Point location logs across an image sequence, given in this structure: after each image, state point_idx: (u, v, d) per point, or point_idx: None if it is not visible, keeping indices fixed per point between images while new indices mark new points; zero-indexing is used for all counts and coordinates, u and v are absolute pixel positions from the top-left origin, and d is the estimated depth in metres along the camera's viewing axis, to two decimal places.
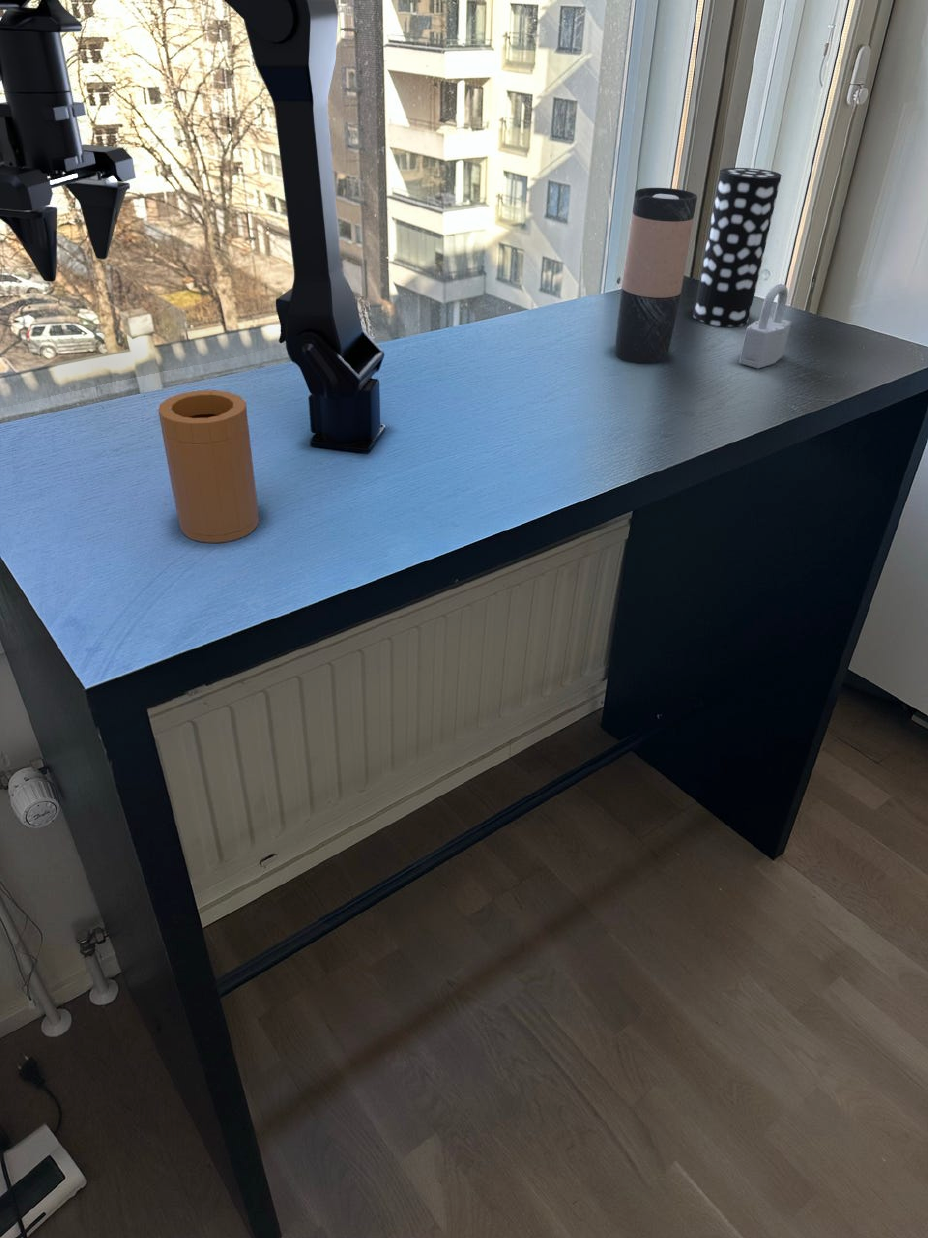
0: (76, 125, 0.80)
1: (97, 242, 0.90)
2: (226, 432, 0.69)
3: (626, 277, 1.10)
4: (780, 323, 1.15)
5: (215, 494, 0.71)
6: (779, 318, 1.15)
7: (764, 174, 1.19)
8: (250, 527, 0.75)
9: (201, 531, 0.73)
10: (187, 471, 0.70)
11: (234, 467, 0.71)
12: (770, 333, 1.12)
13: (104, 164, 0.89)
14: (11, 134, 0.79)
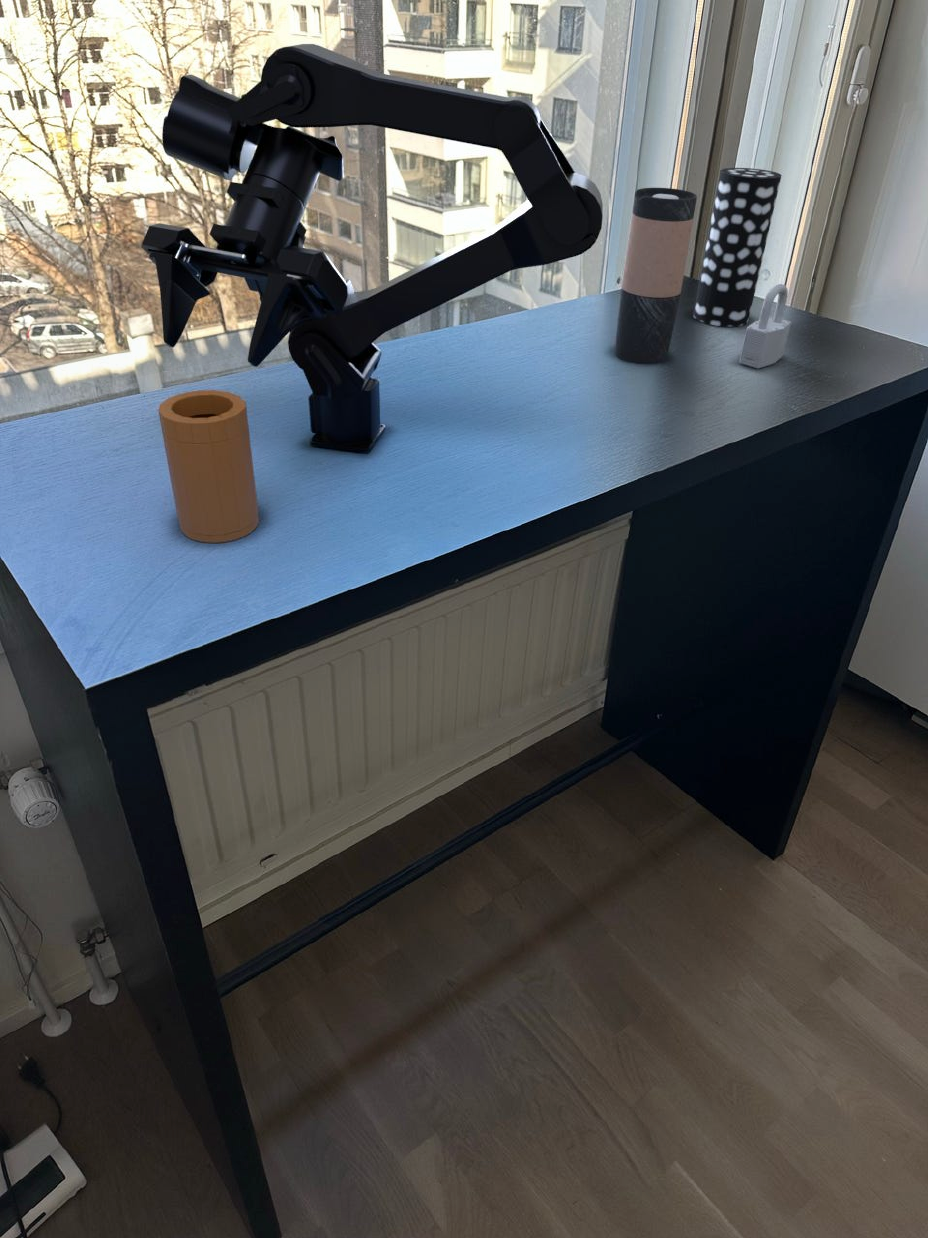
0: (253, 204, 0.74)
1: None
2: (226, 432, 0.69)
3: (626, 277, 1.10)
4: (780, 323, 1.15)
5: (215, 494, 0.71)
6: (779, 318, 1.15)
7: (764, 174, 1.19)
8: (250, 527, 0.75)
9: (201, 531, 0.73)
10: (187, 471, 0.70)
11: (234, 467, 0.71)
12: (770, 333, 1.12)
13: None
14: None
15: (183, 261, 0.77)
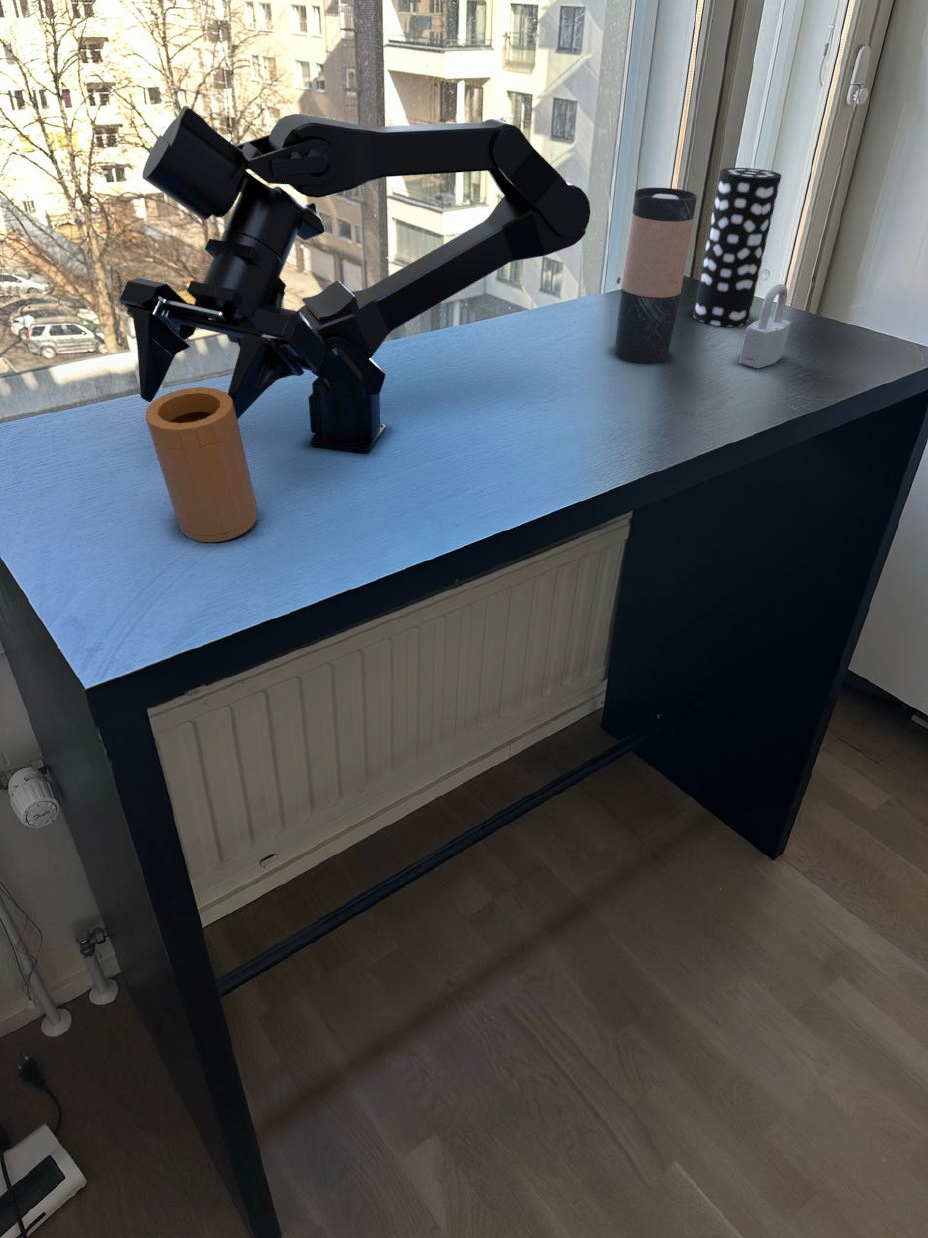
0: (230, 262, 0.74)
1: None
2: (214, 435, 0.68)
3: (626, 277, 1.10)
4: (780, 323, 1.15)
5: (210, 496, 0.71)
6: (779, 318, 1.15)
7: (764, 174, 1.19)
8: (249, 523, 0.75)
9: (200, 532, 0.73)
10: (179, 475, 0.70)
11: (226, 467, 0.70)
12: (770, 333, 1.12)
13: None
14: None
15: (161, 316, 0.77)
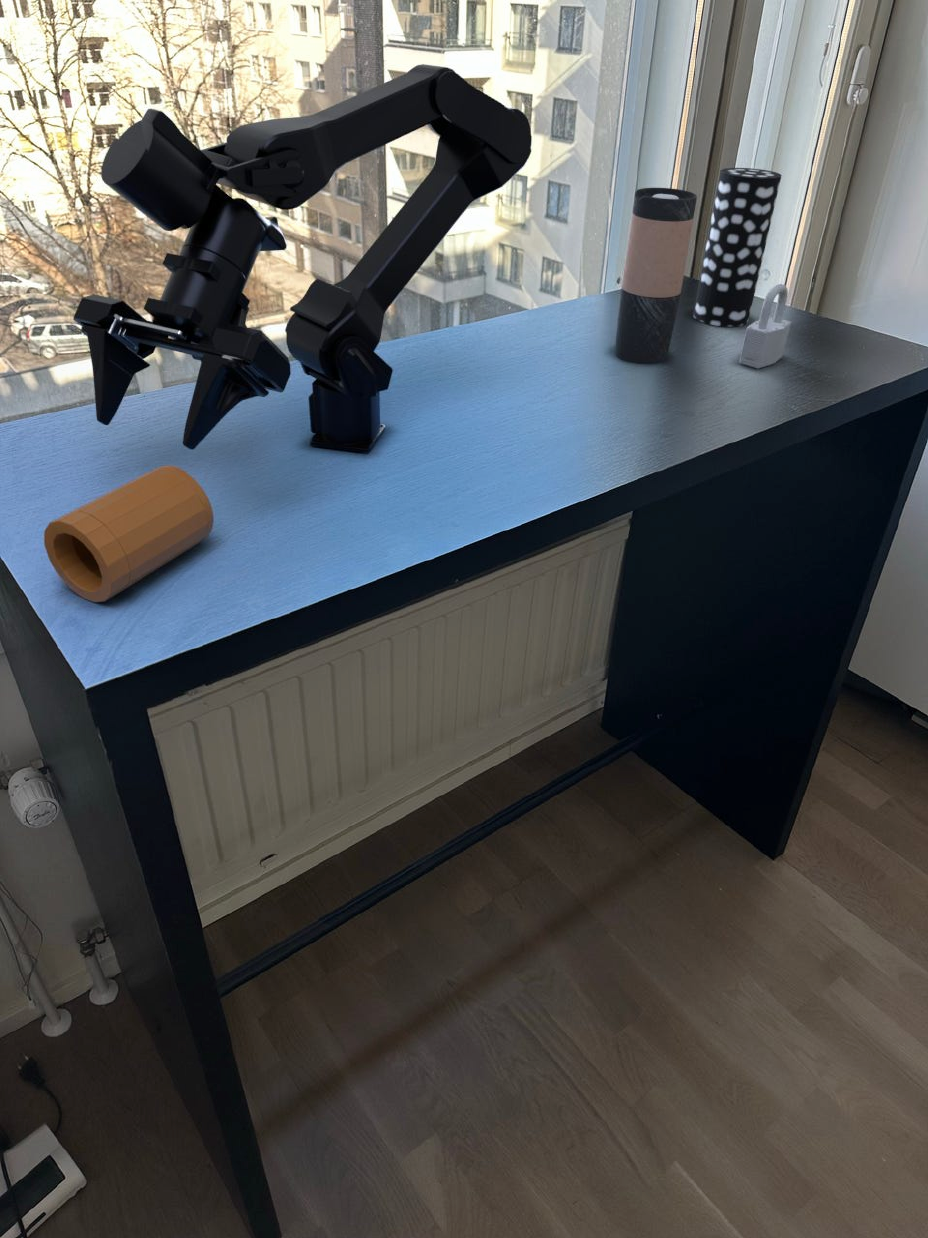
0: (189, 278, 0.70)
1: None
2: (123, 574, 0.64)
3: (626, 277, 1.10)
4: (780, 323, 1.15)
5: (171, 557, 0.69)
6: (779, 318, 1.15)
7: (764, 174, 1.19)
8: (206, 508, 0.70)
9: None
10: None
11: (154, 553, 0.67)
12: (770, 333, 1.12)
13: None
14: None
15: (118, 335, 0.73)
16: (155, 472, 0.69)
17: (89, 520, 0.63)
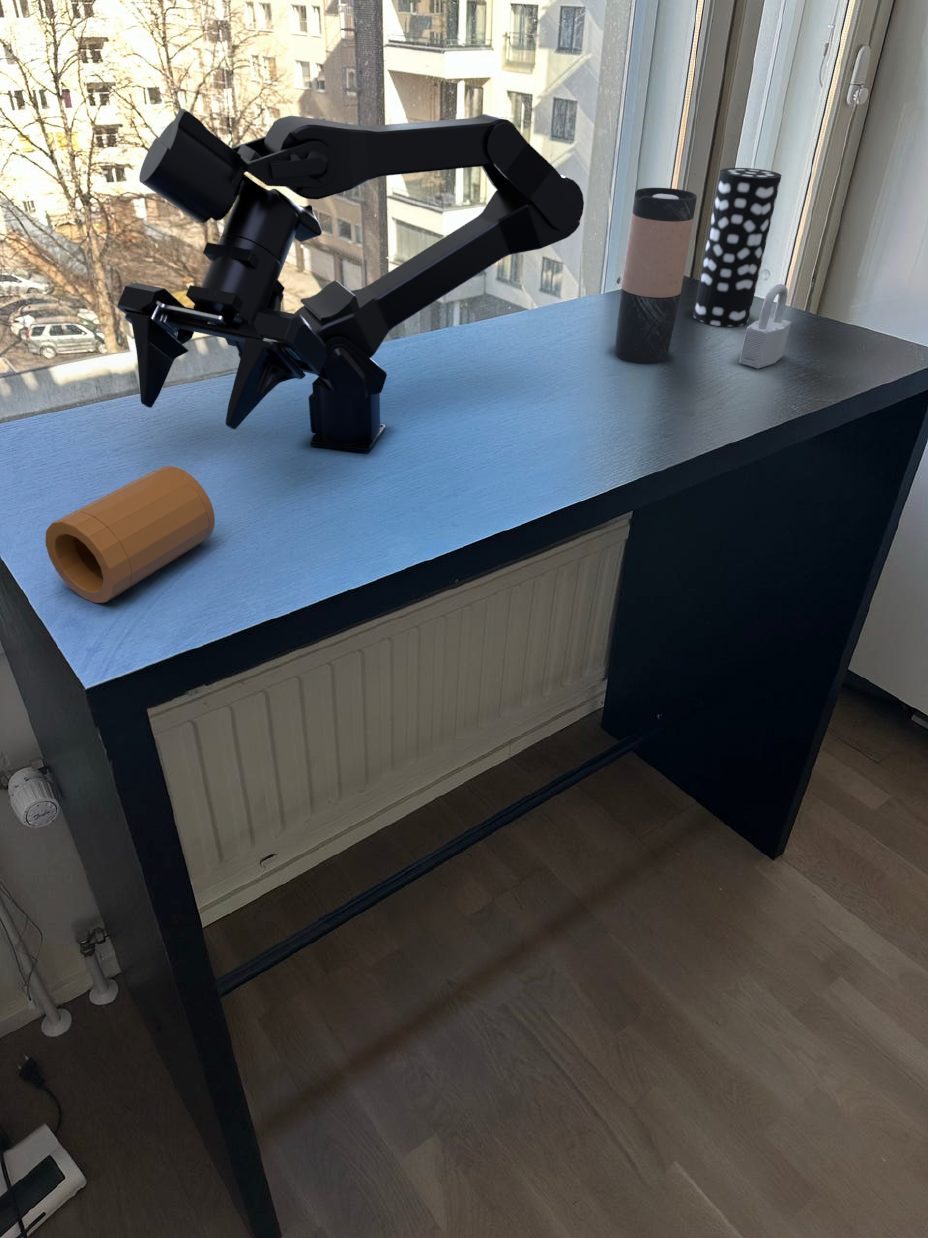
0: (229, 265, 0.73)
1: None
2: (124, 577, 0.65)
3: (626, 277, 1.10)
4: (780, 323, 1.15)
5: (171, 559, 0.69)
6: (779, 318, 1.15)
7: (764, 174, 1.19)
8: (208, 510, 0.70)
9: None
10: None
11: (155, 555, 0.67)
12: (770, 333, 1.12)
13: None
14: None
15: (160, 321, 0.76)
16: (158, 473, 0.69)
17: (92, 522, 0.63)
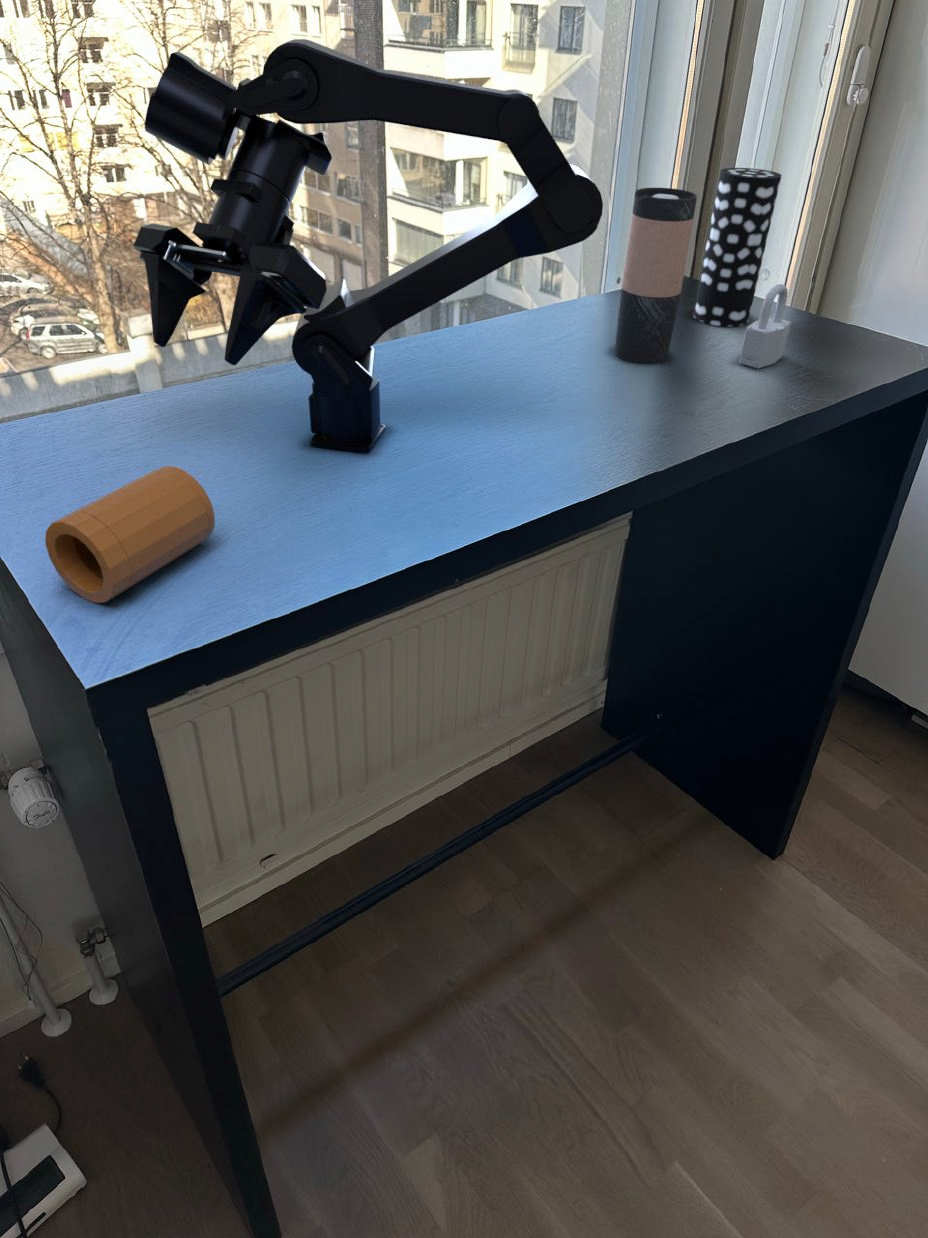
0: (232, 200, 0.73)
1: None
2: (124, 577, 0.65)
3: (626, 277, 1.10)
4: (780, 323, 1.15)
5: (171, 559, 0.69)
6: (779, 318, 1.15)
7: (764, 174, 1.19)
8: (208, 510, 0.70)
9: None
10: None
11: (155, 555, 0.67)
12: (770, 333, 1.12)
13: None
14: None
15: (173, 260, 0.78)
16: (158, 473, 0.69)
17: (92, 522, 0.63)
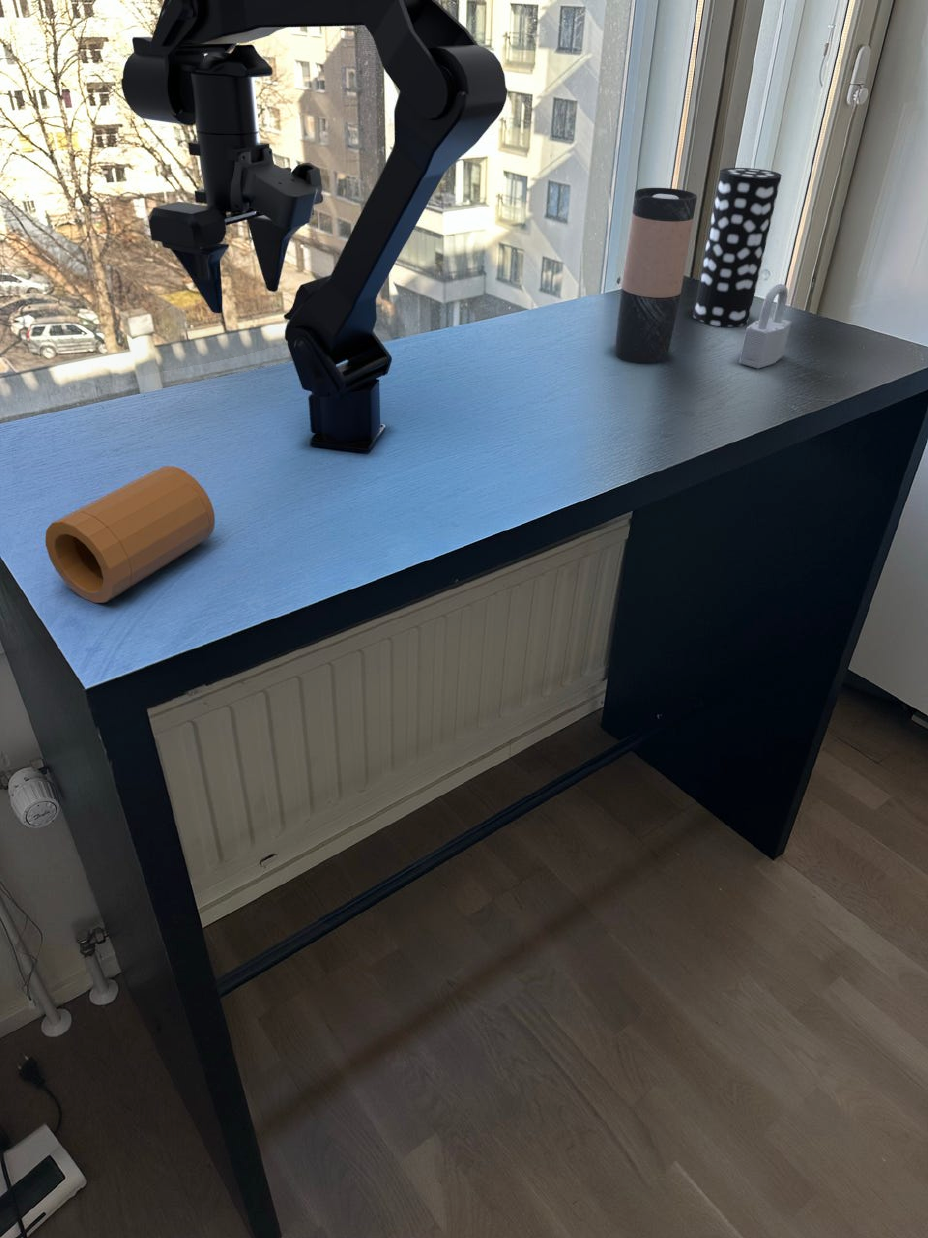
0: None
1: None
2: (124, 577, 0.65)
3: (626, 277, 1.10)
4: (780, 323, 1.15)
5: (171, 559, 0.69)
6: (779, 318, 1.15)
7: (764, 174, 1.19)
8: (208, 510, 0.70)
9: None
10: None
11: (155, 555, 0.67)
12: (770, 333, 1.12)
13: None
14: None
15: None
16: (158, 473, 0.69)
17: (92, 522, 0.63)
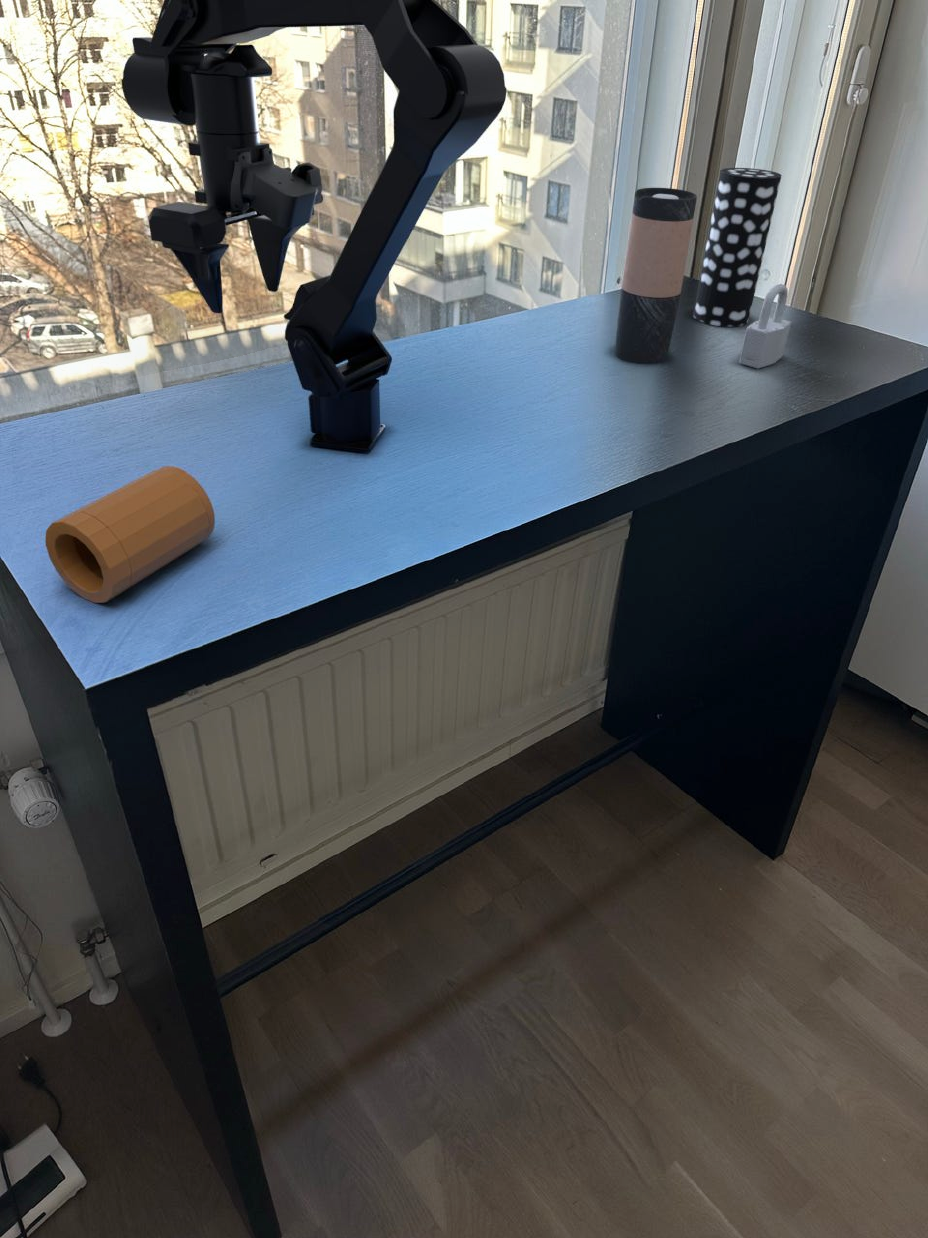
0: None
1: None
2: (124, 577, 0.65)
3: (626, 277, 1.10)
4: (780, 323, 1.15)
5: (171, 559, 0.69)
6: (779, 318, 1.15)
7: (764, 174, 1.19)
8: (208, 510, 0.70)
9: None
10: None
11: (155, 555, 0.67)
12: (770, 333, 1.12)
13: None
14: None
15: None
16: (158, 473, 0.69)
17: (92, 522, 0.63)
